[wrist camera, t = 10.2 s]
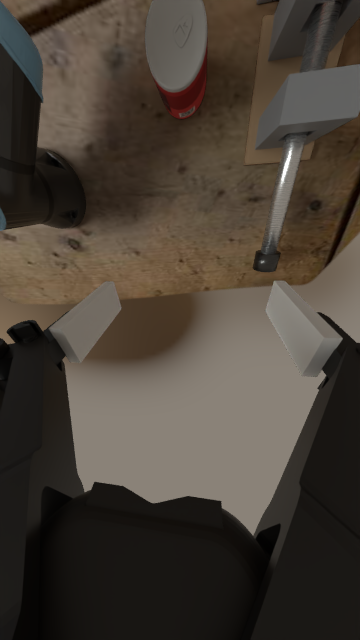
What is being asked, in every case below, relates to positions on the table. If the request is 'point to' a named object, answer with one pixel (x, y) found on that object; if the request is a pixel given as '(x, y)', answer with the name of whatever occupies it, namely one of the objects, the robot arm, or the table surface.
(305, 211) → the table surface
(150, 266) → the table surface
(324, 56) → the shaft
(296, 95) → the bearing frame
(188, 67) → the canned food
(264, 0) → the mat
